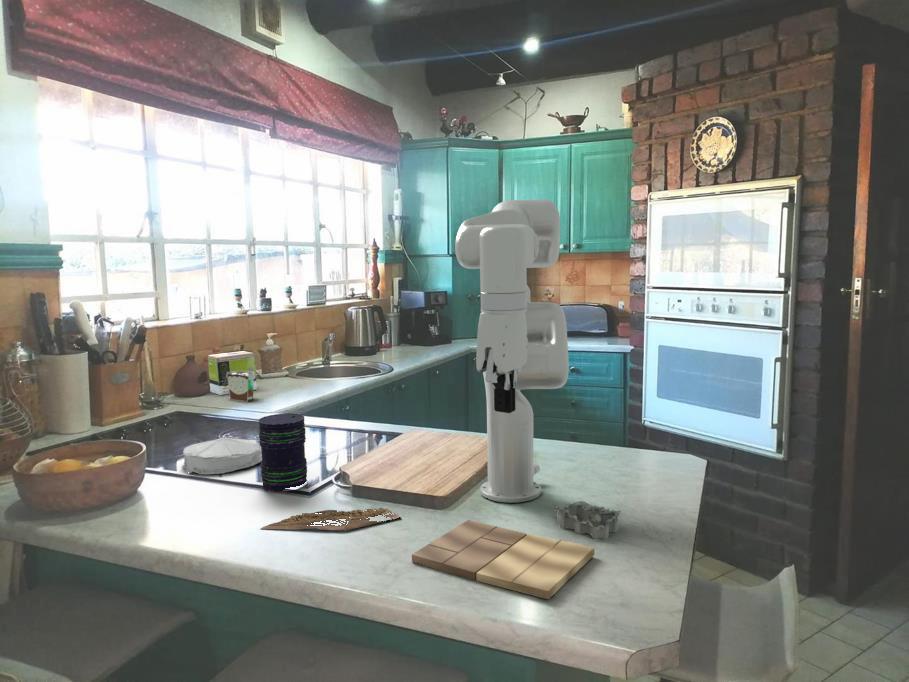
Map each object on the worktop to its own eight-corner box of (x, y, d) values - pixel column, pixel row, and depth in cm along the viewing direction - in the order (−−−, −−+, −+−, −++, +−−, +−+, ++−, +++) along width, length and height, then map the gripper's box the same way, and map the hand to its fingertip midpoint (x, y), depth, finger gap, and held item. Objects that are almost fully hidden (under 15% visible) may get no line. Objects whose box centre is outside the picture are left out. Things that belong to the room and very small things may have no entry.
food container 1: (170, 463, 166) (168, 437, 165) (249, 447, 178) (247, 422, 177) (194, 484, 150) (191, 455, 149) (278, 465, 162) (276, 438, 161)
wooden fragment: (400, 509, 132) (400, 503, 132) (402, 531, 121) (402, 525, 121) (267, 516, 129) (267, 511, 129) (257, 540, 118) (256, 534, 118)
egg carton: (551, 527, 122) (550, 505, 121) (574, 515, 127) (574, 494, 127) (601, 543, 114) (601, 520, 114) (624, 530, 120) (624, 508, 119)
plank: (528, 540, 115) (528, 533, 115) (594, 554, 108) (594, 547, 108) (476, 580, 101) (476, 572, 101) (548, 599, 94) (548, 590, 94)
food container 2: (264, 399, 241) (262, 371, 240) (250, 402, 236) (249, 374, 234) (240, 396, 247) (239, 369, 246) (227, 399, 242) (225, 372, 241)
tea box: (247, 386, 266) (244, 350, 264) (257, 390, 258) (255, 352, 257) (209, 392, 257) (207, 354, 255) (219, 395, 249) (216, 356, 247)
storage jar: (273, 496, 140) (269, 426, 138) (254, 484, 147) (250, 418, 145) (315, 485, 146) (313, 418, 144) (295, 474, 154) (292, 411, 152)
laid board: (468, 526, 122) (468, 519, 122) (526, 540, 115) (526, 533, 115) (411, 561, 108) (411, 554, 108) (474, 580, 101) (474, 572, 101)
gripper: (505, 296, 117) (506, 398, 120) (459, 306, 105) (462, 419, 108) (544, 298, 113) (544, 403, 116) (502, 309, 101) (503, 426, 104)
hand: (504, 410), depth 112 cm, fingers closed
